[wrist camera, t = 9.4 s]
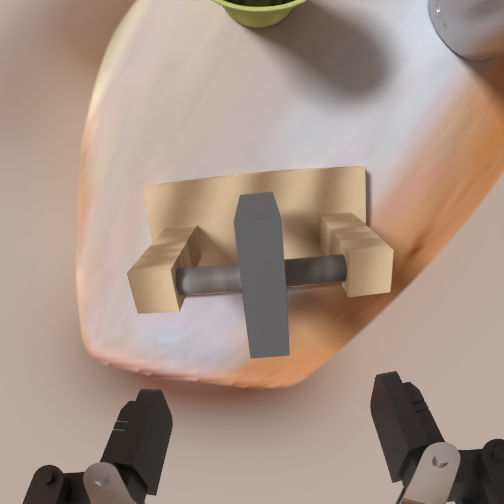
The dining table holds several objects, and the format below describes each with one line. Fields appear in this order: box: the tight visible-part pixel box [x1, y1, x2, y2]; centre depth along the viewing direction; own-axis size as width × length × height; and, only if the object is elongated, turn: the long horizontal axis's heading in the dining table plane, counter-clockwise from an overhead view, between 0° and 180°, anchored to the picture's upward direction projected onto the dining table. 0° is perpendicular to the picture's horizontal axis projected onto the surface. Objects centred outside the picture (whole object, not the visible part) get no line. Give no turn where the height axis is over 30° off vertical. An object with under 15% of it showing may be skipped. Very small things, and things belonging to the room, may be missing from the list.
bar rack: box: [127, 166, 394, 313], centre depth 25 cm, size 20×11×11 cm, turn 95°
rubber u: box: [234, 192, 290, 358], centre depth 22 cm, size 2×9×8 cm, turn 6°
